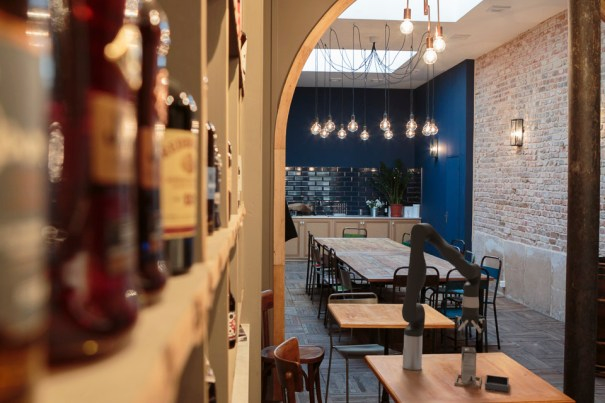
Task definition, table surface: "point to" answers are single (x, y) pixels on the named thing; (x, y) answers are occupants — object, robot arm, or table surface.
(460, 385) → the tray frame
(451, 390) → the table surface
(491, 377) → the box
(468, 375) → the coffee box
